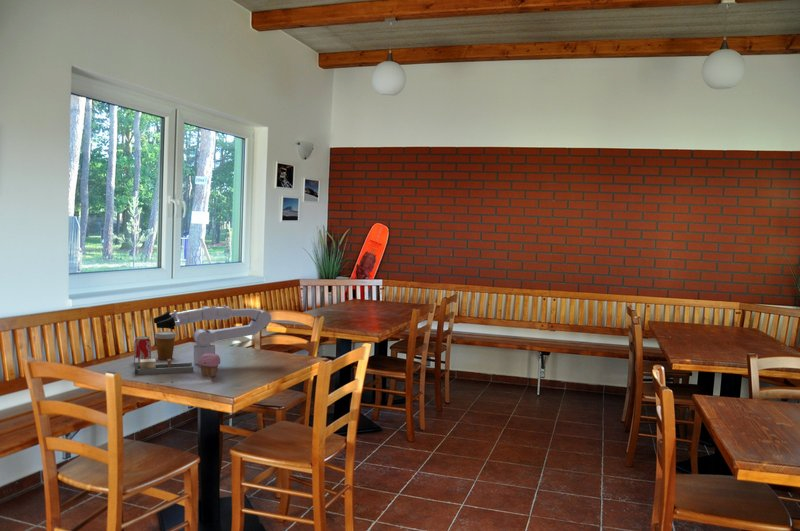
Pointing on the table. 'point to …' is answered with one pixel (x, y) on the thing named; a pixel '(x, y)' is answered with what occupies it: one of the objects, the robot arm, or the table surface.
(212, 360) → the cupcake
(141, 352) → the soda can
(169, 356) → the disposable coffee cup
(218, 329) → the robot arm
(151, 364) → the block
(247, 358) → the table surface
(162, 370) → the lane
